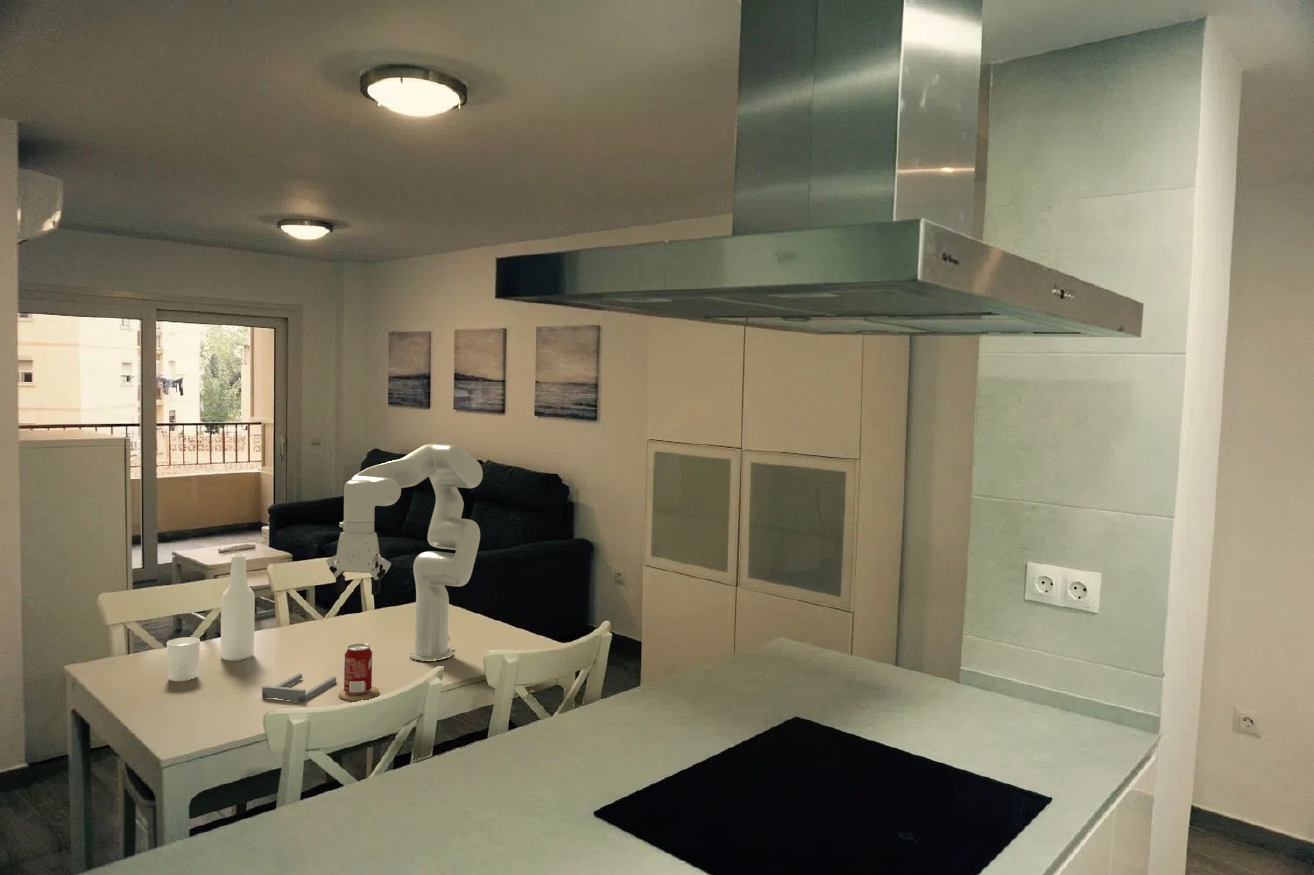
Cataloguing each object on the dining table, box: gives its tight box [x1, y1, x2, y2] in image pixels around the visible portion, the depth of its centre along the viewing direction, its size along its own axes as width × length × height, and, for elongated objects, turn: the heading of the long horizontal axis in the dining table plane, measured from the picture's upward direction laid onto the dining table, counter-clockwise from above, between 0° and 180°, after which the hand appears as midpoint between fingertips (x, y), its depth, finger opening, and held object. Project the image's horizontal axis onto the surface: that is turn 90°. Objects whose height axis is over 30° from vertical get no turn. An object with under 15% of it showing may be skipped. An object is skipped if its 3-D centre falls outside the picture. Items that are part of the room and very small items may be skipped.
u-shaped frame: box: [261, 673, 337, 703], centre depth 226 cm, size 16×11×3 cm
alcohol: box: [220, 553, 256, 662], centre depth 251 cm, size 9×9×30 cm
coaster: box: [337, 686, 380, 702], centre depth 224 cm, size 10×10×1 cm
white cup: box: [166, 636, 201, 682], centre depth 232 cm, size 8×8×10 cm
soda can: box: [343, 643, 373, 695], centre depth 224 cm, size 7×7×12 cm
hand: (358, 592), depth 224 cm, fingers open, 9 cm apart
